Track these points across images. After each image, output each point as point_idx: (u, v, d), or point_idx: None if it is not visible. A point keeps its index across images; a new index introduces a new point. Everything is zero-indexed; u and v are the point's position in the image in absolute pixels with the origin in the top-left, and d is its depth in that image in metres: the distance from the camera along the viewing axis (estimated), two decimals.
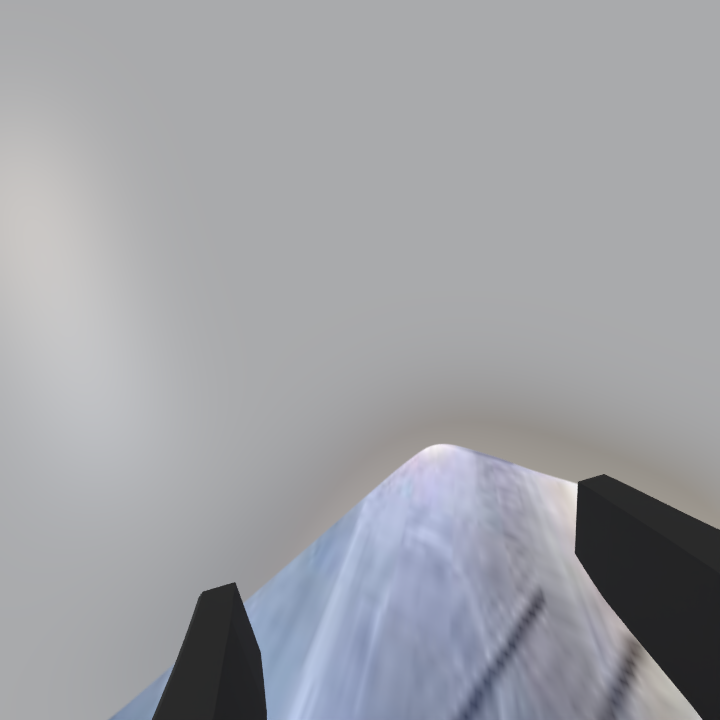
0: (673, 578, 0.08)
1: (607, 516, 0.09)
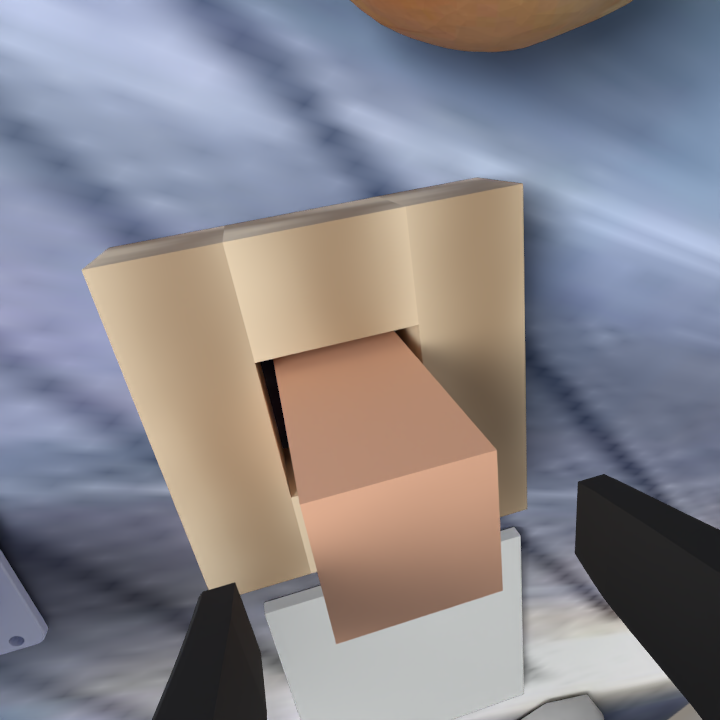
0: (673, 578, 0.08)
1: (607, 516, 0.09)
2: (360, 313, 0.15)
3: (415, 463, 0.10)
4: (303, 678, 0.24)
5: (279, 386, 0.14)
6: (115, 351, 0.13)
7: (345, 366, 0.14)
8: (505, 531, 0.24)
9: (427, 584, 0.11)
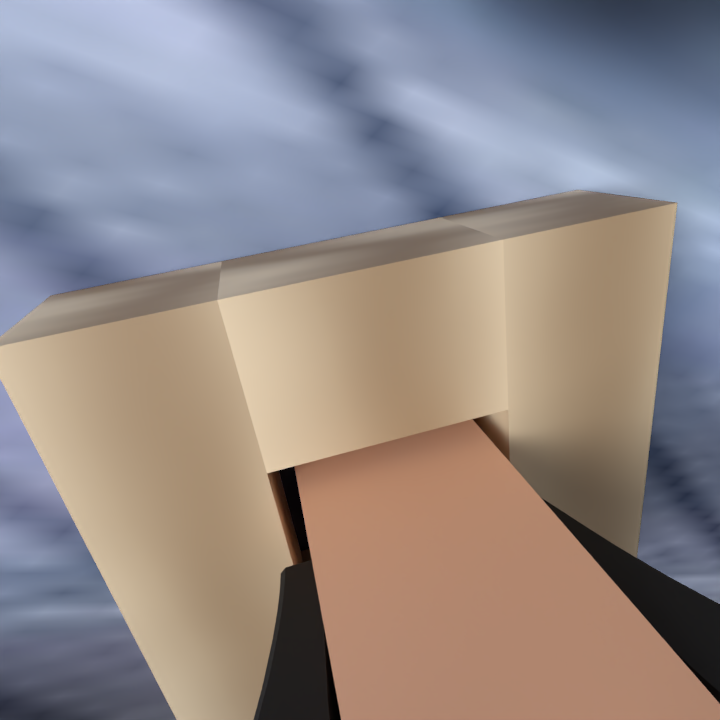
0: None
1: None
2: (426, 397, 0.10)
3: None
4: None
5: (305, 515, 0.09)
6: (50, 468, 0.09)
7: (403, 478, 0.10)
8: None
9: None
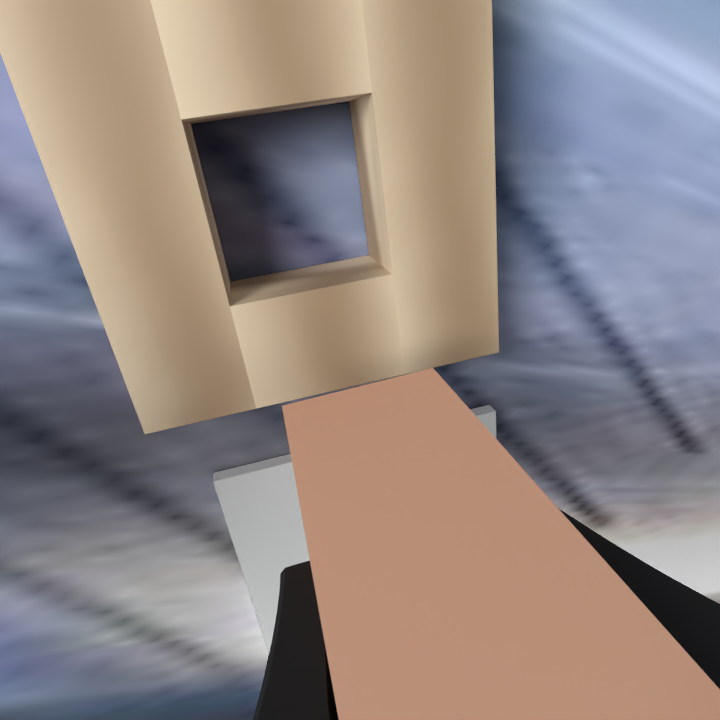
0: None
1: None
2: (303, 68, 0.13)
3: None
4: (258, 565, 0.22)
5: (302, 506, 0.09)
6: (13, 81, 0.12)
7: (401, 468, 0.10)
8: (479, 408, 0.22)
9: None
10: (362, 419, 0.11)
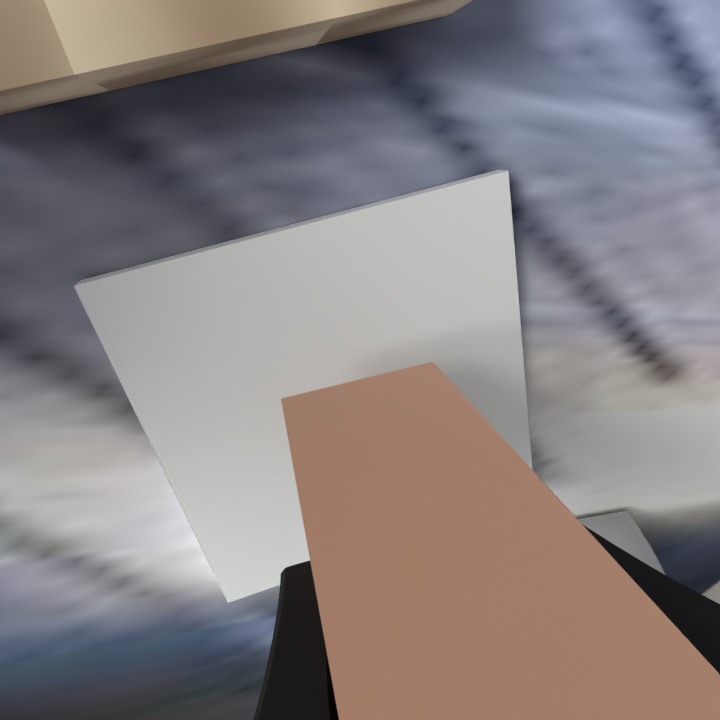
0: None
1: None
2: None
3: None
4: (173, 431, 0.15)
5: (300, 496, 0.09)
6: None
7: (400, 459, 0.09)
8: (484, 174, 0.14)
9: None
10: (361, 411, 0.11)
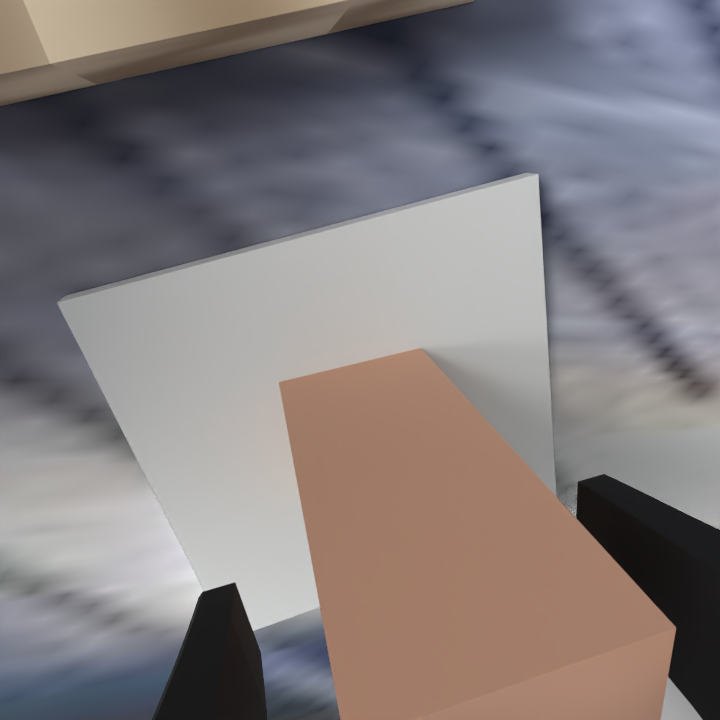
0: (673, 578, 0.08)
1: (607, 516, 0.09)
2: None
3: (536, 650, 0.06)
4: (168, 459, 0.13)
5: (295, 465, 0.10)
6: None
7: (386, 433, 0.10)
8: (510, 177, 0.13)
9: None
10: (353, 392, 0.12)
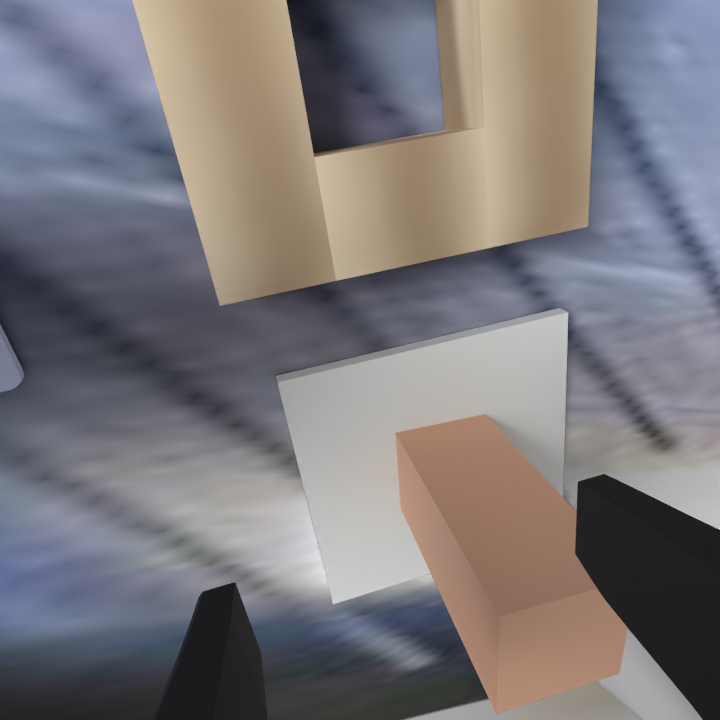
0: (673, 578, 0.08)
1: (607, 516, 0.09)
2: None
3: (577, 584, 0.13)
4: (320, 479, 0.21)
5: (429, 490, 0.17)
6: None
7: (478, 474, 0.18)
8: (550, 311, 0.21)
9: (568, 670, 0.14)
10: (448, 444, 0.20)
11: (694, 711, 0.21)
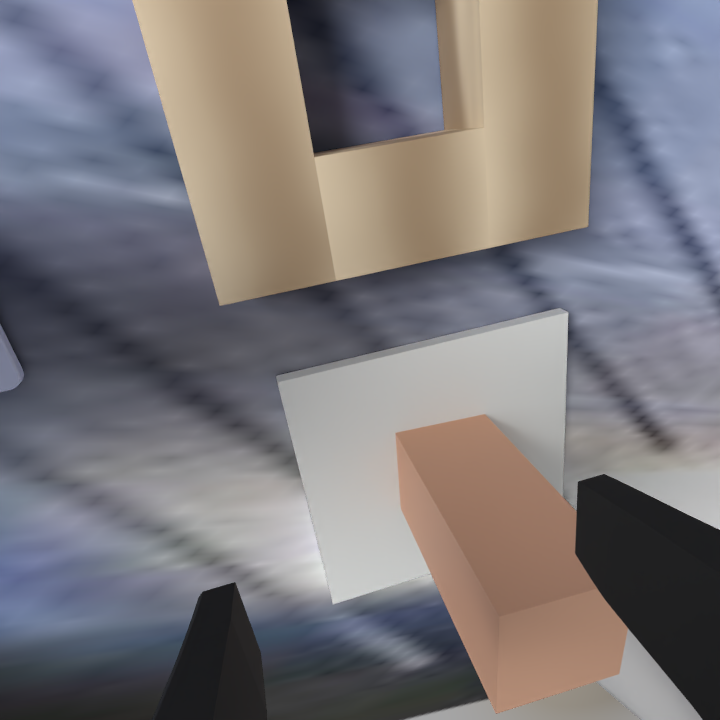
0: (673, 578, 0.08)
1: (607, 516, 0.09)
2: None
3: (577, 584, 0.13)
4: (320, 479, 0.21)
5: (429, 490, 0.17)
6: None
7: (478, 474, 0.18)
8: (550, 311, 0.21)
9: (568, 670, 0.14)
10: (448, 444, 0.20)
11: (694, 711, 0.21)
